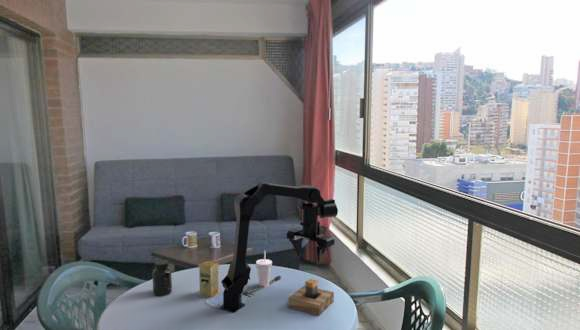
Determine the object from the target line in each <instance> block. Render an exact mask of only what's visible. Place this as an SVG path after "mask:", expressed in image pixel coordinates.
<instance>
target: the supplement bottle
mask: <svg viewBox="0 0 580 330" xmlns="http://www.w3.org/2000/svg"><path fill="white" fill-rule="evenodd" d="M172 279H173V278H172V269H171V268H170V267H169V260H165V259H163V260H162V259H161V260H157V261H155V263H154V270H152V293H153V294H154V296H156V297H164V296H168V295H170V294H171V293H172V290H173V285H172V284H173V283H172V282H173V281H172Z"/></svg>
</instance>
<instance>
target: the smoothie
mask: <svg viewBox="0 0 580 330" xmlns="http://www.w3.org/2000/svg"><path fill="white" fill-rule="evenodd" d="M272 265H273V261H272V260H271V259H269V258H268V259H267V258H266V250H263V258H261V259H257V260H256V261H255V266H256V269H257V276H258V284H259V286H264V288H267V287H269V286H270V285H269V281H270V277H271V271H272ZM259 286H258V287H259Z"/></svg>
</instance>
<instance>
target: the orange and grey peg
mask: <svg viewBox="0 0 580 330" xmlns="http://www.w3.org/2000/svg"><path fill="white" fill-rule="evenodd" d="M304 283H305V286H306V297H307V298H311V299H316V298H317V288H318V286H319V281H318V280H316V279H312V278H309V279H308V280H306V281H305V282H304Z"/></svg>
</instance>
